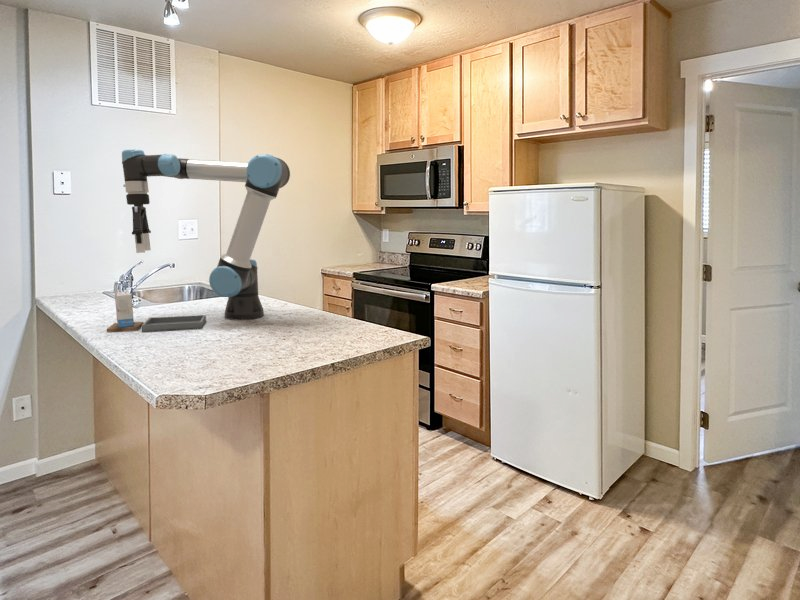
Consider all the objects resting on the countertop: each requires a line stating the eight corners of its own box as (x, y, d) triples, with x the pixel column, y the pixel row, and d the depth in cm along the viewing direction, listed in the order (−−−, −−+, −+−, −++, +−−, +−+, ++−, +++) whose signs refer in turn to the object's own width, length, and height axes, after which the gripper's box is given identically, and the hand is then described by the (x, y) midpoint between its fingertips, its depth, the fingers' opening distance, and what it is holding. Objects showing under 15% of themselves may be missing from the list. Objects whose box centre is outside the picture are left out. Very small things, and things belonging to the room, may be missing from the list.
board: (143, 324, 198) (143, 321, 198) (137, 330, 188) (137, 327, 188) (114, 326, 196) (114, 323, 195) (106, 332, 186) (106, 328, 186)
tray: (206, 321, 204) (205, 315, 203) (202, 329, 190) (201, 322, 190) (150, 324, 199) (149, 317, 199) (141, 332, 186) (141, 325, 185)
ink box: (134, 326, 190) (131, 285, 187) (119, 328, 187) (115, 286, 185) (132, 322, 197) (128, 283, 194) (116, 323, 194) (113, 284, 192)
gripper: (132, 195, 204) (138, 250, 208) (119, 192, 181) (126, 254, 184) (153, 194, 207) (159, 249, 210) (143, 191, 183) (149, 253, 187)
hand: (143, 251), depth 197 cm, fingers open, 13 cm apart
